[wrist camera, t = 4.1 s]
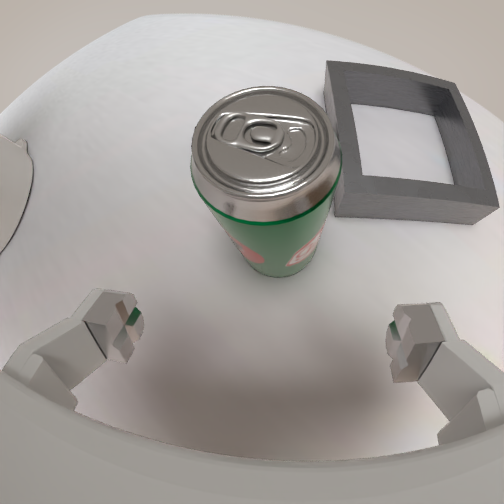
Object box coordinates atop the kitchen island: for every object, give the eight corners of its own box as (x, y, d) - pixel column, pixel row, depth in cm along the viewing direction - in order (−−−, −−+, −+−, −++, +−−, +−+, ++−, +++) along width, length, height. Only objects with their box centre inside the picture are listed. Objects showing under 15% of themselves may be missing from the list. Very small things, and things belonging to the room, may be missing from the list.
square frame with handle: (188, 215, 21) (167, 193, 17) (208, 96, 23) (197, 66, 20) (472, 224, 18) (499, 207, 14) (440, 108, 20) (454, 83, 16)
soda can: (303, 288, 18) (324, 236, 7) (231, 264, 19) (152, 187, 8) (324, 219, 19) (359, 96, 8) (256, 199, 20) (217, 71, 9)
